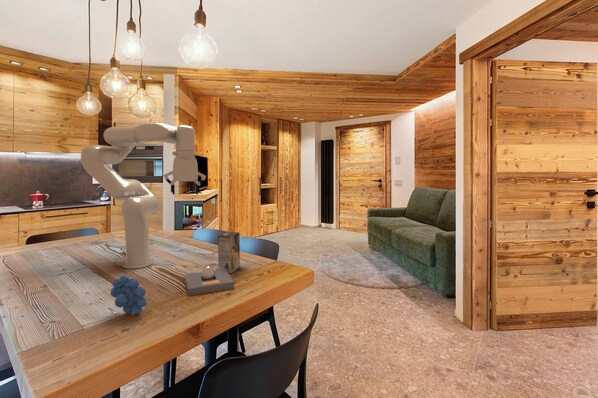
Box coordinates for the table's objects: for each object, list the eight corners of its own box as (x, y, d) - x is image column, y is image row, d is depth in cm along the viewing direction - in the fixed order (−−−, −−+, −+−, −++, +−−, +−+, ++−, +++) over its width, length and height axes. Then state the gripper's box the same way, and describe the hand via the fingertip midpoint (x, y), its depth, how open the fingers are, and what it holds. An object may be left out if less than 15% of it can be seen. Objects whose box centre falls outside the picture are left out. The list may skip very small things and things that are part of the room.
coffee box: (227, 265, 134) (227, 231, 133) (240, 266, 133) (240, 232, 131) (218, 272, 125) (217, 235, 124) (231, 273, 124) (231, 236, 122)
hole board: (188, 295, 101) (188, 288, 101) (185, 280, 115) (184, 273, 115) (234, 288, 108) (234, 281, 108) (225, 274, 122) (225, 268, 122)
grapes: (100, 319, 85) (98, 279, 83) (118, 308, 91) (116, 271, 90) (136, 322, 83) (134, 282, 82) (151, 311, 89) (150, 273, 88)
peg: (203, 286, 109) (203, 268, 108) (202, 283, 113) (202, 265, 112) (214, 285, 111) (214, 267, 110) (212, 281, 114) (212, 264, 114)
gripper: (163, 153, 119) (163, 195, 120) (207, 155, 126) (206, 195, 128) (163, 154, 126) (163, 193, 127) (205, 156, 133) (204, 193, 134)
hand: (185, 194), depth 127 cm, fingers open, 9 cm apart
